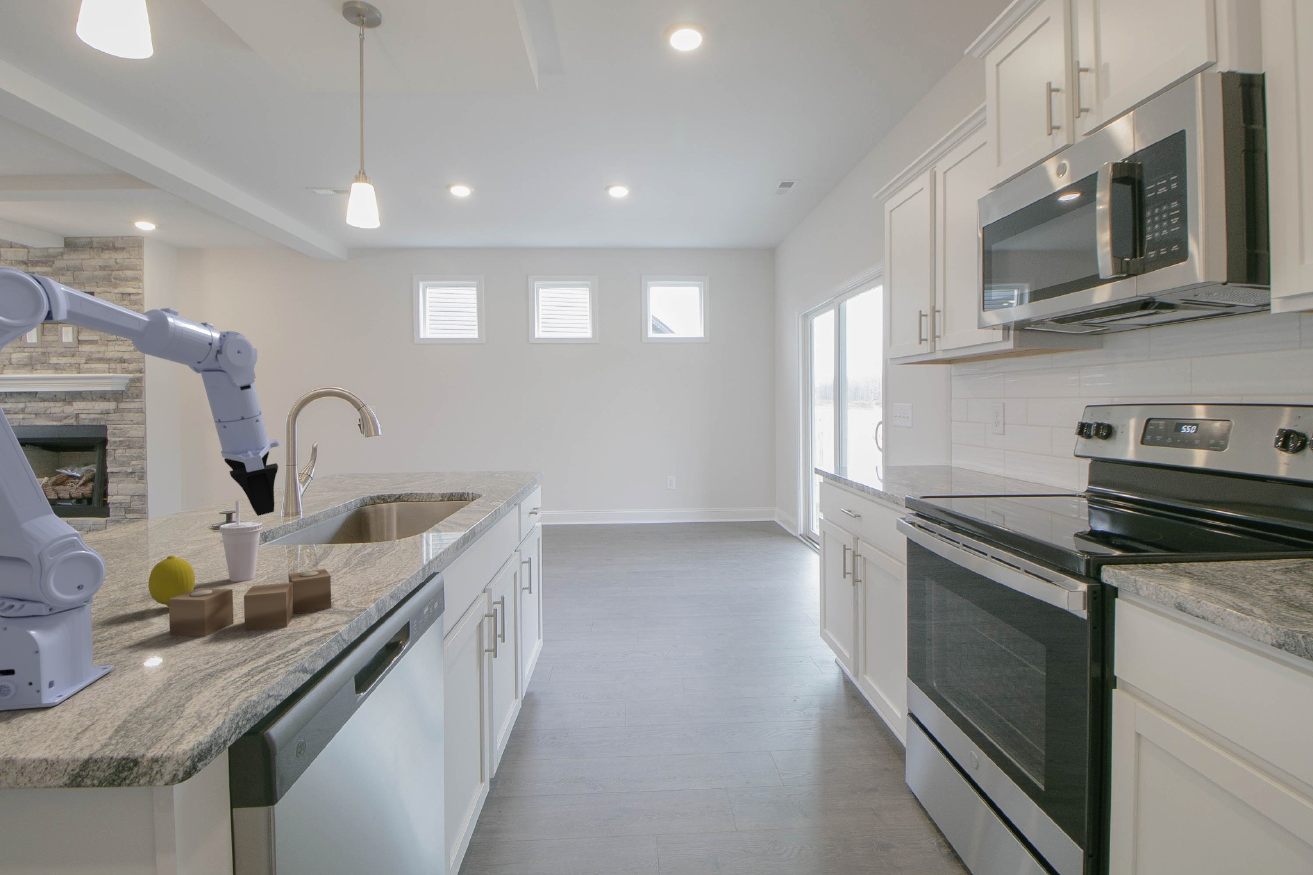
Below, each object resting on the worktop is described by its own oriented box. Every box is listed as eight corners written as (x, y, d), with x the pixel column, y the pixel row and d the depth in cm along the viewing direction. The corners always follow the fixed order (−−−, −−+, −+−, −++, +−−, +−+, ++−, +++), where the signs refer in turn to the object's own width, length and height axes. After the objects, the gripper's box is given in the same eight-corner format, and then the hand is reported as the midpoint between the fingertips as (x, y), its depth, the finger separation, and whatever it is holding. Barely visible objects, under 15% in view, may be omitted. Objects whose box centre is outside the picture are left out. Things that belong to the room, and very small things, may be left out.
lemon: (170, 615, 91) (168, 560, 91) (139, 612, 92) (137, 558, 92) (204, 603, 97) (203, 552, 96) (175, 601, 98) (173, 550, 97)
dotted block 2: (331, 608, 95) (330, 574, 95) (293, 614, 92) (292, 579, 92) (325, 600, 99) (325, 567, 99) (289, 605, 96) (288, 572, 96)
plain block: (287, 627, 87) (286, 591, 87) (244, 631, 85) (243, 595, 85) (293, 616, 91) (292, 582, 91) (253, 620, 90) (252, 585, 89)
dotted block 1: (205, 637, 83) (204, 598, 83) (169, 636, 83) (168, 597, 83) (233, 624, 88) (232, 587, 88) (199, 623, 88) (198, 586, 88)
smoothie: (211, 581, 109) (209, 501, 108) (245, 572, 115) (243, 497, 114) (239, 585, 107) (237, 503, 106) (272, 575, 113) (270, 498, 112)
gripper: (278, 419, 85) (301, 511, 89) (263, 404, 96) (284, 486, 100) (216, 430, 81) (243, 526, 85) (208, 413, 92) (232, 499, 96)
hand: (262, 506), depth 92 cm, fingers open, 7 cm apart
